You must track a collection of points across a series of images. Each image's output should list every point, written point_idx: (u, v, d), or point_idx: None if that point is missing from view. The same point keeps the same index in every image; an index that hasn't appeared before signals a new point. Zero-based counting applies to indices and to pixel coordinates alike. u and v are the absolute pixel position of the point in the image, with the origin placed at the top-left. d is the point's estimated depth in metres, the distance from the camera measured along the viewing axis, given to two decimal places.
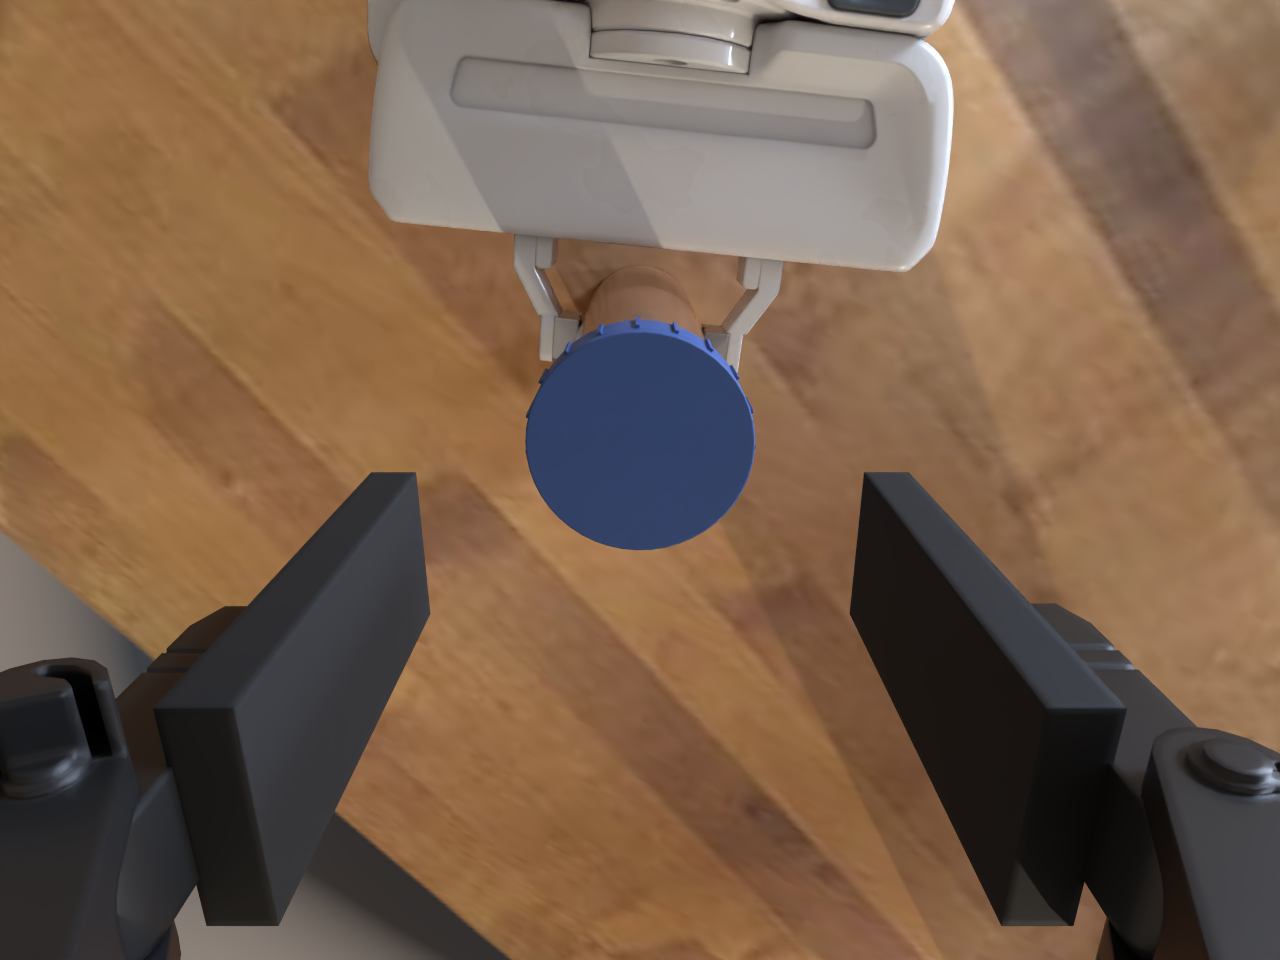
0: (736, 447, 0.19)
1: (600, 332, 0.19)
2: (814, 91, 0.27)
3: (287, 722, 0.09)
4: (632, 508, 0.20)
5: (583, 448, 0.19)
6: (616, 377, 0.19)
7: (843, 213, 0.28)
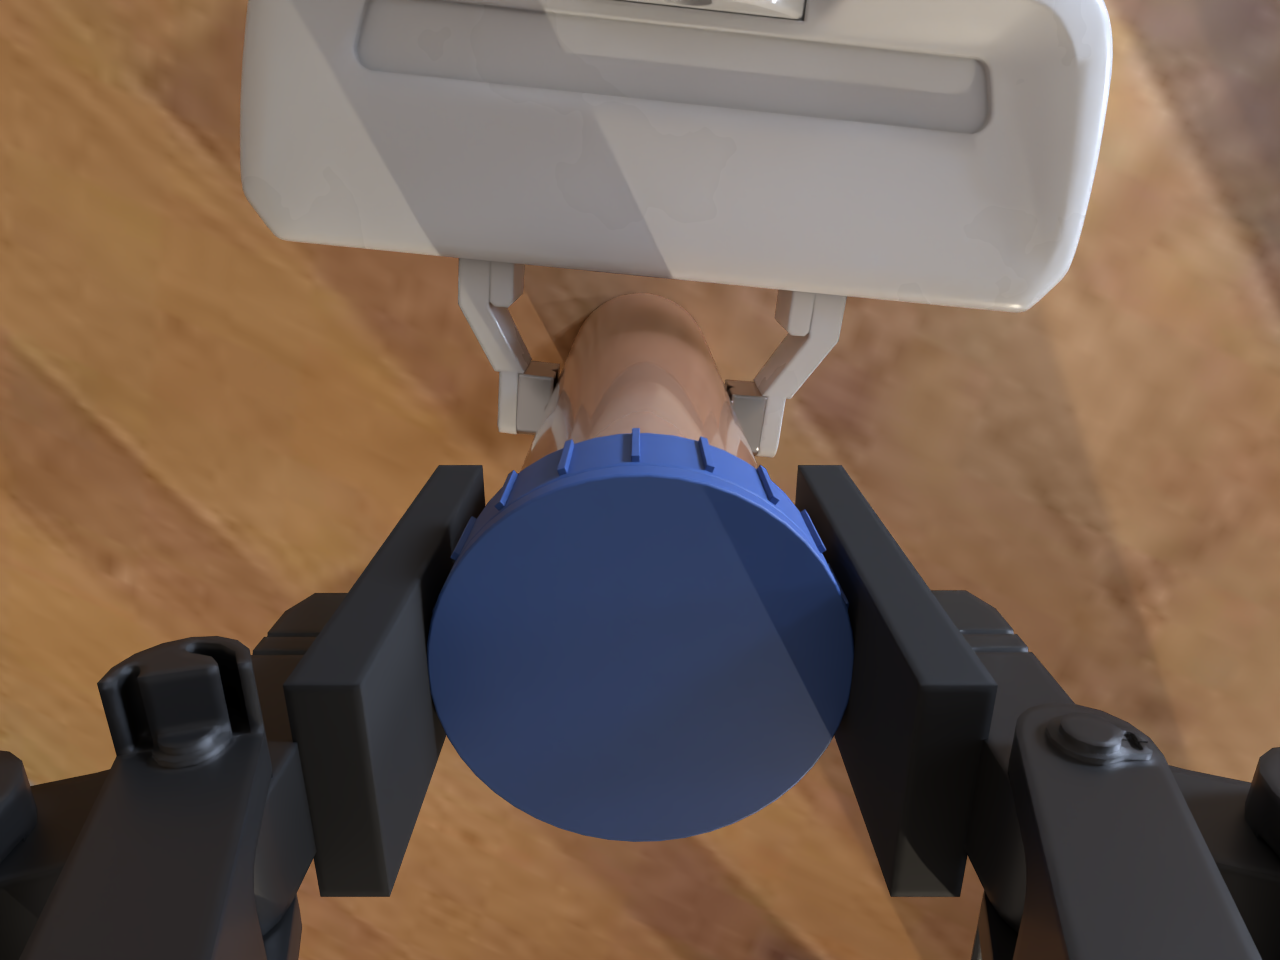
0: (819, 677, 0.10)
1: (564, 469, 0.10)
2: (902, 46, 0.18)
3: (395, 701, 0.09)
4: (626, 776, 0.11)
5: (534, 679, 0.10)
6: (595, 556, 0.10)
7: (937, 228, 0.19)
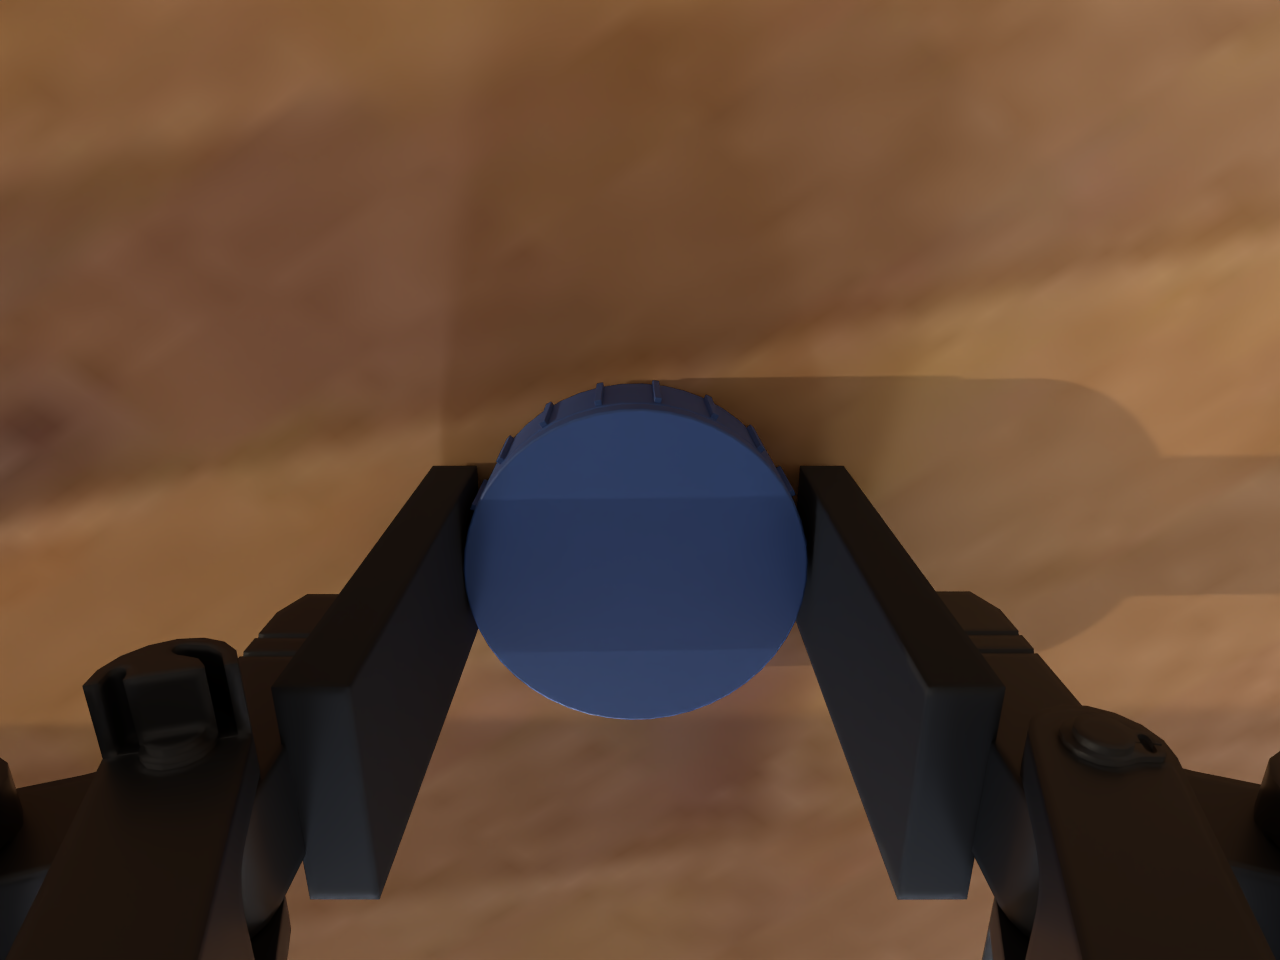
0: (777, 595, 0.13)
1: (600, 401, 0.12)
2: None
3: (385, 704, 0.09)
4: (610, 660, 0.13)
5: (550, 568, 0.13)
6: (616, 473, 0.12)
7: None
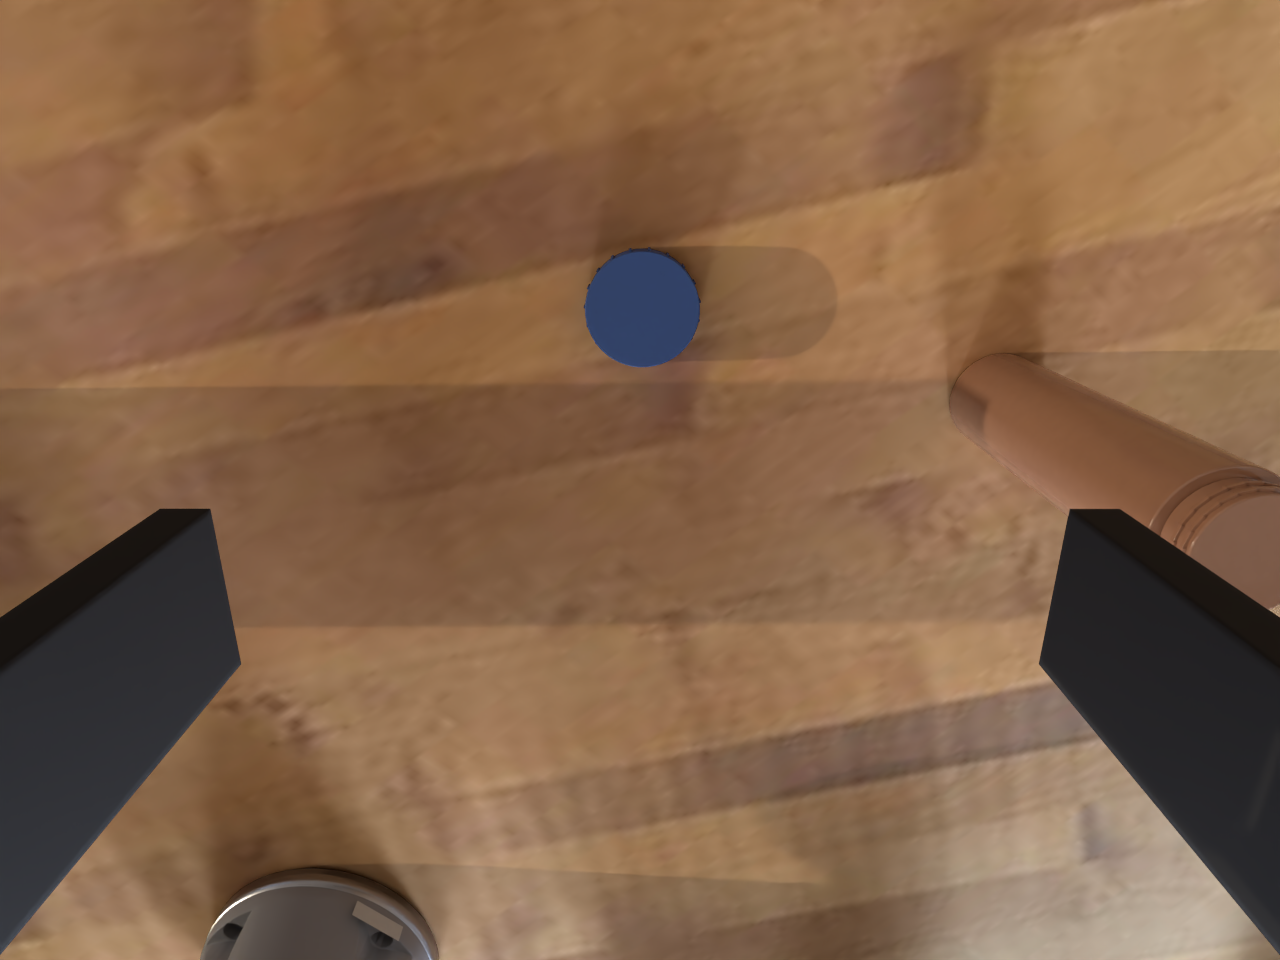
0: (689, 318, 0.39)
1: (630, 250, 0.38)
2: None
3: None
4: (633, 343, 0.39)
5: (614, 307, 0.39)
6: (635, 273, 0.38)
7: None
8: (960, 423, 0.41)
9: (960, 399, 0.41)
